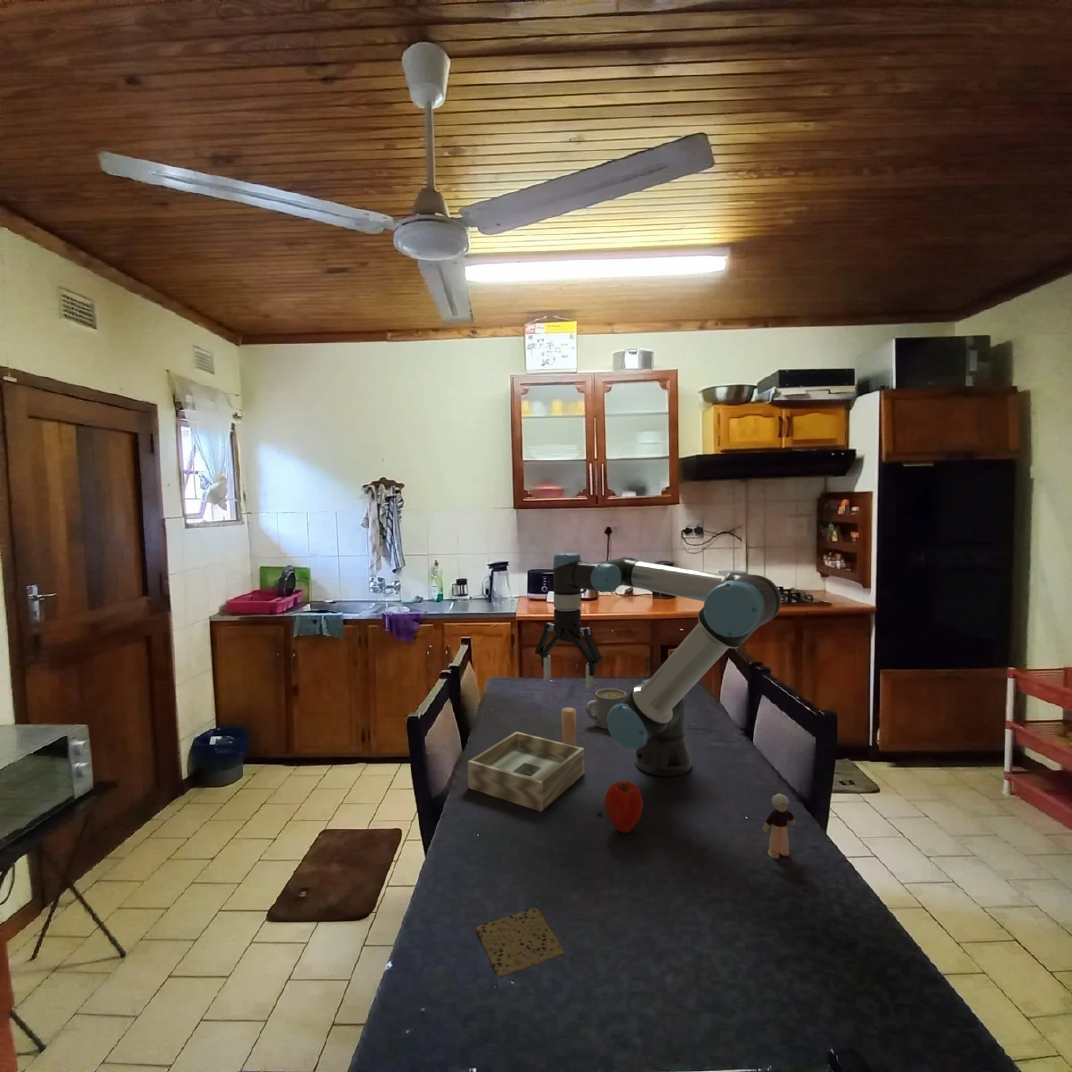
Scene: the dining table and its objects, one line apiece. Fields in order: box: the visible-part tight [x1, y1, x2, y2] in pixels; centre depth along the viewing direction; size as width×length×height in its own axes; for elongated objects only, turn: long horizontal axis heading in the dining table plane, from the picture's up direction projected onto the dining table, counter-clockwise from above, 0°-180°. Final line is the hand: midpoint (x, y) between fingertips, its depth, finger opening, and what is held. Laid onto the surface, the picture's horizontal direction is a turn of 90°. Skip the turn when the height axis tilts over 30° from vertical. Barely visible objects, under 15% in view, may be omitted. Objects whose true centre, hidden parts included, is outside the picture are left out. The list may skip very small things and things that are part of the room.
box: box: [467, 731, 585, 812], centre depth 154 cm, size 22×22×7 cm
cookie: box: [475, 907, 566, 979], centre depth 99 cm, size 12×12×1 cm
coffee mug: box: [585, 687, 627, 730], centre depth 191 cm, size 13×10×10 cm
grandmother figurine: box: [762, 792, 797, 860], centre depth 121 cm, size 8×4×13 cm, turn 117°
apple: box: [604, 781, 644, 834], centre depth 130 cm, size 9×8×11 cm
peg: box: [561, 707, 577, 746], centre depth 166 cm, size 4×4×14 cm
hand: (568, 682), depth 165 cm, fingers open, 13 cm apart
